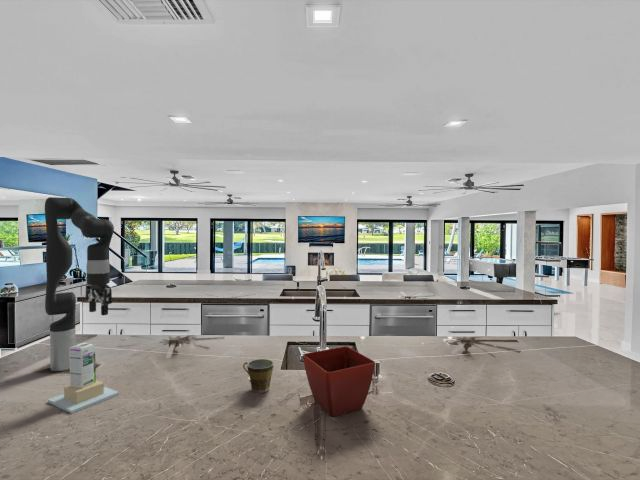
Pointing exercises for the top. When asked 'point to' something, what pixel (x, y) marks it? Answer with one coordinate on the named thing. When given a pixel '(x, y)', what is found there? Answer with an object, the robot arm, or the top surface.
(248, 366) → the ceramic cup
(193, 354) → the top surface
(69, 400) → the build base
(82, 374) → the syrup box
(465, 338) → the top surface
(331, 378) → the plant pot
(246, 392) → the top surface
